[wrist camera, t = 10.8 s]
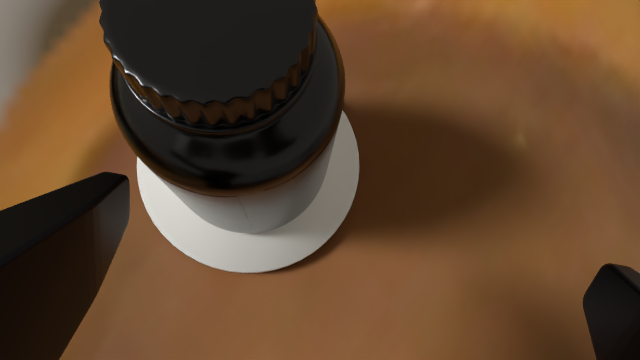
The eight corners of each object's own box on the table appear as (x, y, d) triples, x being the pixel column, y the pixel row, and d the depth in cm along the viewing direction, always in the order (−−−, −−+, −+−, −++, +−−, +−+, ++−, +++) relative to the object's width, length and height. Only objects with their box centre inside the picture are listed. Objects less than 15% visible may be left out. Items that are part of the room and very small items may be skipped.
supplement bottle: (258, 63, 24) (234, -173, 12) (356, 167, 23) (433, 19, 11) (140, 154, 22) (-17, -17, 11) (240, 270, 21) (189, 222, 10)
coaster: (303, 311, 22) (304, 311, 21) (99, 215, 22) (92, 211, 21) (387, 120, 25) (392, 113, 24) (205, 36, 25) (202, 26, 24)
